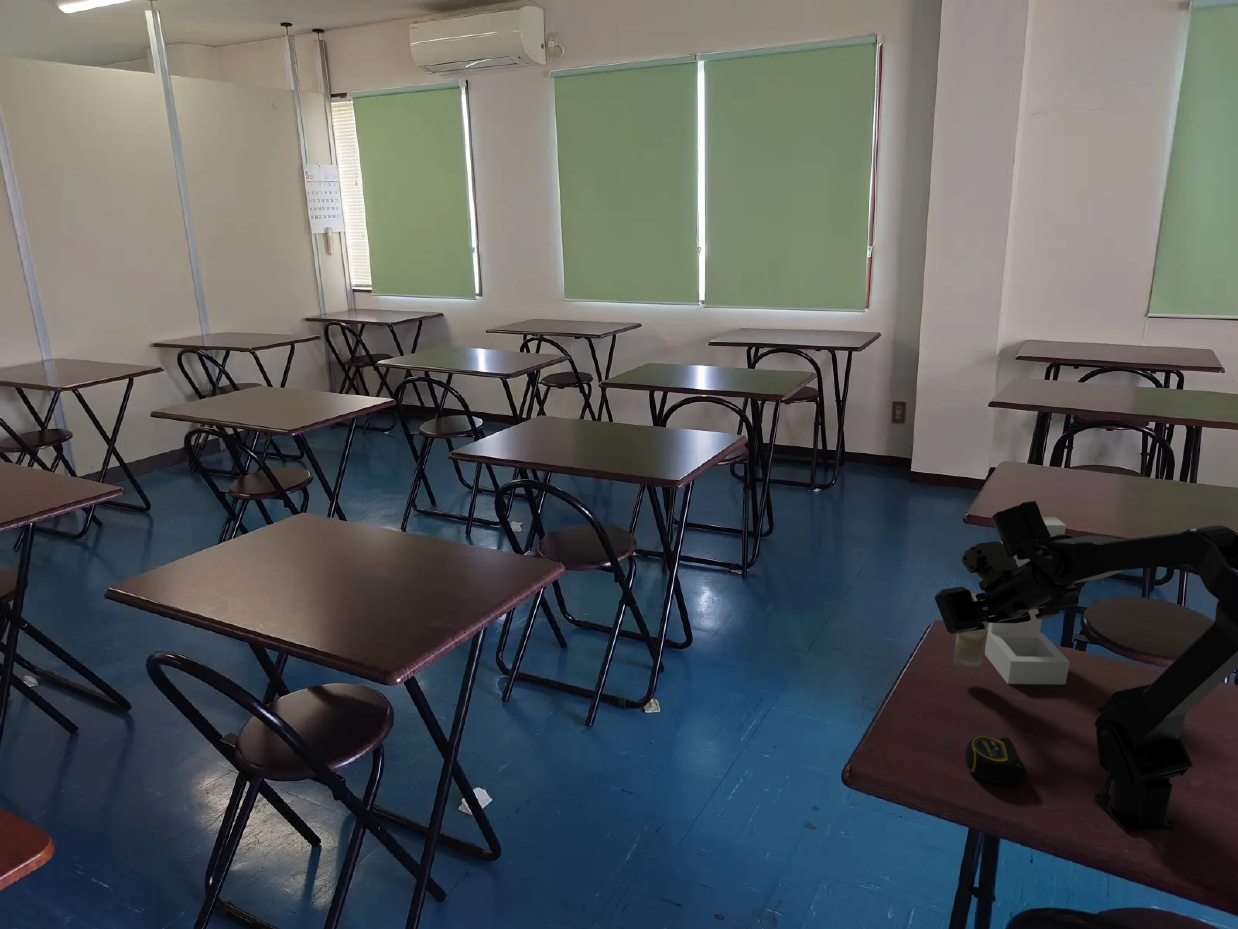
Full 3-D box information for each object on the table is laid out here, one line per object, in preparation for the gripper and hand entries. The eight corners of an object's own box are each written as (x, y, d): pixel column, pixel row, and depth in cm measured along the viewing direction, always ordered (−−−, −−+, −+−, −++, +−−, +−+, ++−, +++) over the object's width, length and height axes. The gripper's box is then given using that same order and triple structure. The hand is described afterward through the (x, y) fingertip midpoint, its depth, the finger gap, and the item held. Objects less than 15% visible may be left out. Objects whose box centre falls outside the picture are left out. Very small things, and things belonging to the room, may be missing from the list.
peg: (985, 669, 131) (995, 604, 128) (961, 671, 131) (970, 606, 128) (972, 655, 135) (981, 592, 132) (948, 657, 135) (957, 594, 131)
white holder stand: (1065, 684, 133) (1091, 542, 126) (1007, 684, 133) (1030, 542, 126) (1035, 650, 143) (1058, 517, 136) (981, 650, 143) (1001, 516, 136)
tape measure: (1026, 792, 110) (1030, 767, 109) (970, 787, 111) (974, 762, 109) (1010, 758, 116) (1014, 735, 115) (957, 754, 117) (961, 731, 116)
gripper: (1058, 526, 125) (995, 565, 138) (950, 540, 120) (896, 580, 133) (1092, 598, 120) (1023, 631, 134) (982, 616, 115) (922, 649, 128)
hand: (966, 621), depth 132 cm, fingers closed on peg, 4 cm apart
